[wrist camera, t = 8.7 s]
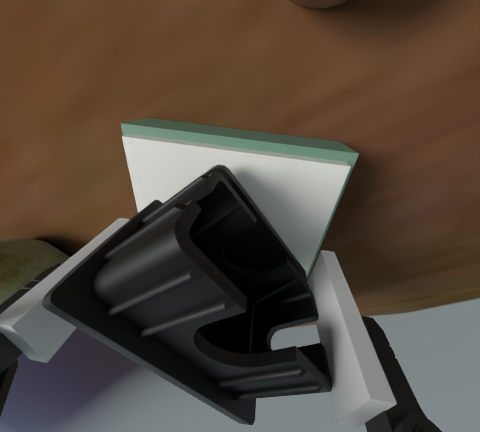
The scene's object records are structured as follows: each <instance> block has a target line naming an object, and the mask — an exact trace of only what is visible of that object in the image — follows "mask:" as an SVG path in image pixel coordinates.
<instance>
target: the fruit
mask: <svg viewBox="0 0 480 432" xmlns="http://www.w3.org/2000/svg"><path fill="white" fill-rule="evenodd" d="M69 258H70V257H69V256H68V255H66V254H65V253H63V252H61V251H60V250H59V249H57V248H55V247H54V246H52V245H51V244H49V243H47V242H45V241H40V240H32V239H9V240H0V304H2V303H3V302H4V301H6V300H7V299H8V298H9V297H11V296H12V295H13V294H15V293H16V292H17V291H19V290H20V289H23V287H24V286H25V285H26V284H28V283H29V282H30V281H33V279H34V278H35V277H37V276H38V275H39V274H41V273H42V272H43V271H44V270H46V269H48V268H50V267H52V266H54V265H56V264H58V263H60V264H63V263H64V262H66V261H67V260H68V259H69Z"/></svg>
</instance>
